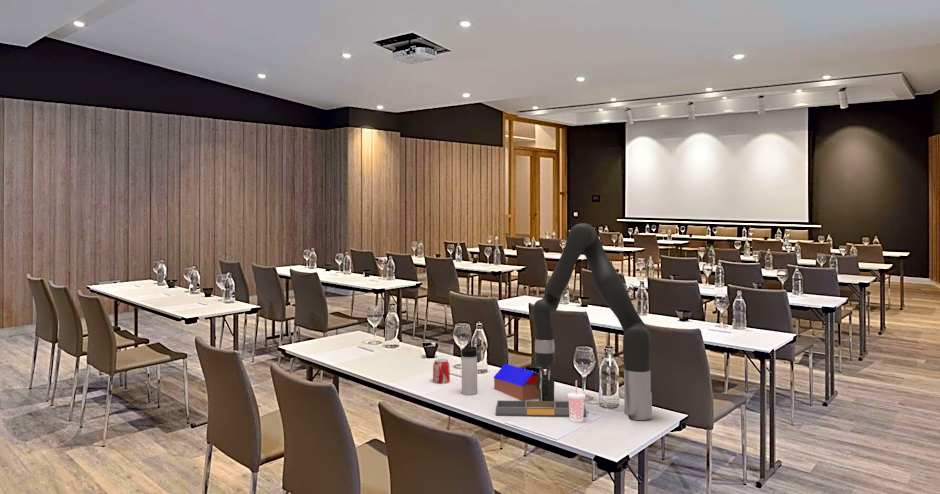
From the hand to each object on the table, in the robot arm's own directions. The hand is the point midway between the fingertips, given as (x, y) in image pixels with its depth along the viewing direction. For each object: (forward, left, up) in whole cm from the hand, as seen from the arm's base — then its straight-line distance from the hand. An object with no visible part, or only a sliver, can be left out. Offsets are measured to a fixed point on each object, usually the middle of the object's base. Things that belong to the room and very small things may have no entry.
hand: (544, 393), depth 250 cm
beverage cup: (-11, +22, -4) cm, 24 cm away
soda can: (+43, -24, -4) cm, 50 cm away
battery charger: (0, 0, -4) cm, 4 cm away
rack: (+2, +13, -4) cm, 13 cm away
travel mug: (+30, -9, -4) cm, 32 cm away
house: (+10, -13, -5) cm, 17 cm away
